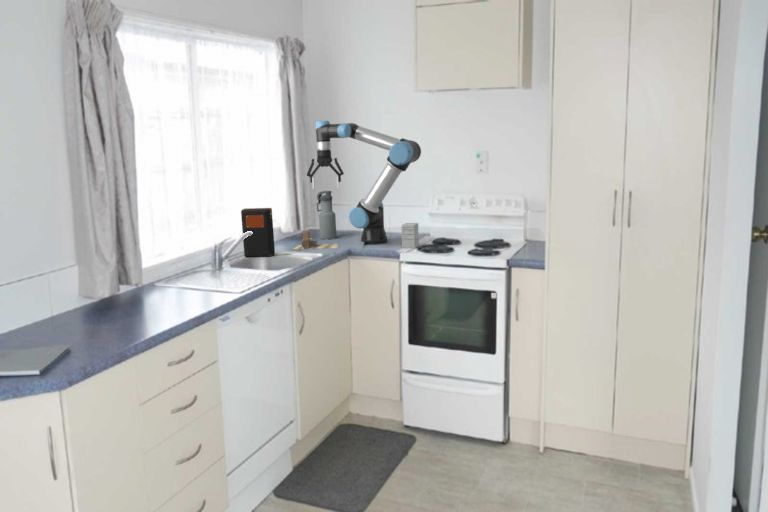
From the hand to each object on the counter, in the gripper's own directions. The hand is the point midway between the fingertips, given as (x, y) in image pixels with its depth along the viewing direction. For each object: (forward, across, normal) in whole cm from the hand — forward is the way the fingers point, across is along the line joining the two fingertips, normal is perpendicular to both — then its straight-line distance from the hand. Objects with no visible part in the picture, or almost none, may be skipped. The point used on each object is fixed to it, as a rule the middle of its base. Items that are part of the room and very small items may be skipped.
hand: (326, 188), depth 380 cm
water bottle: (+32, +4, -23) cm, 40 cm away
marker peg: (+30, +10, +14) cm, 35 cm away
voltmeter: (+32, +33, +27) cm, 53 cm away
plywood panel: (+32, +5, +11) cm, 34 cm away
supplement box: (+32, -46, +13) cm, 57 cm away
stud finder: (+30, +10, +8) cm, 33 cm away
